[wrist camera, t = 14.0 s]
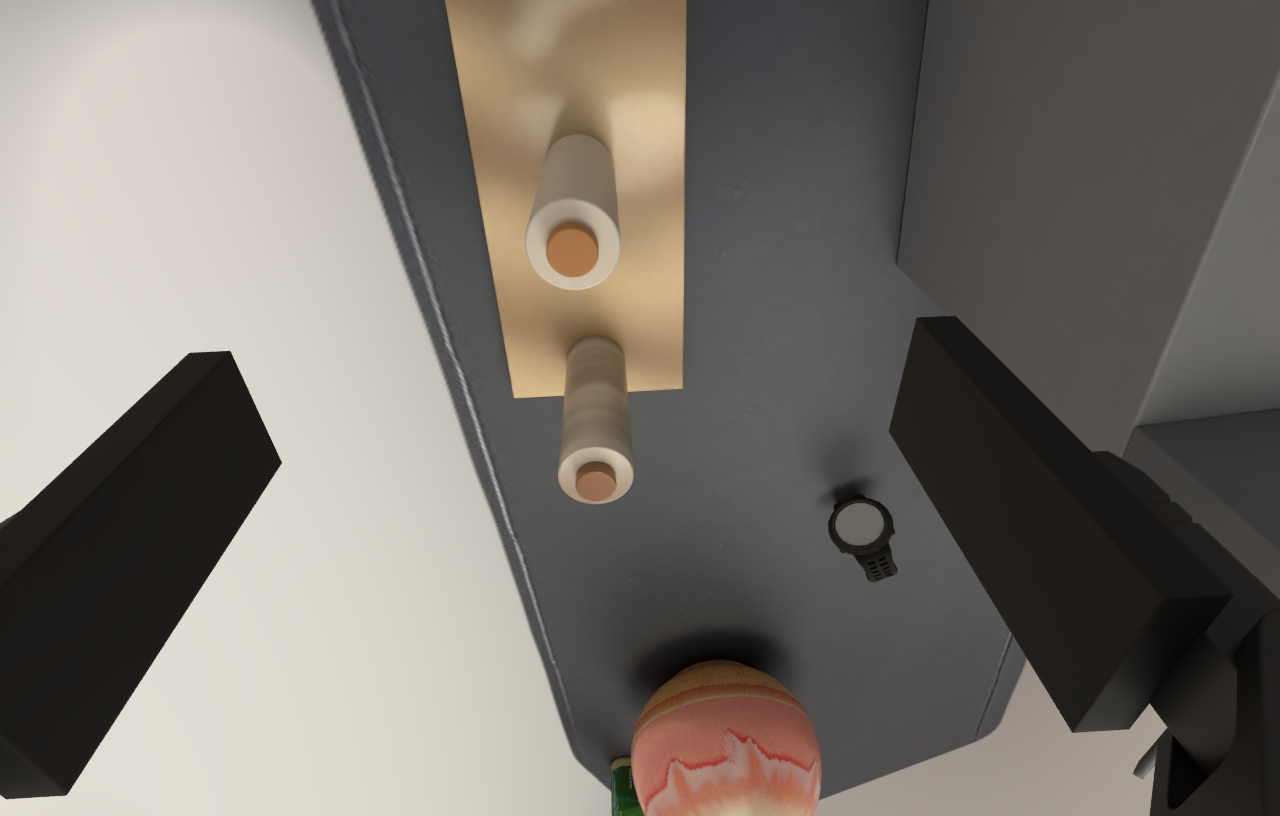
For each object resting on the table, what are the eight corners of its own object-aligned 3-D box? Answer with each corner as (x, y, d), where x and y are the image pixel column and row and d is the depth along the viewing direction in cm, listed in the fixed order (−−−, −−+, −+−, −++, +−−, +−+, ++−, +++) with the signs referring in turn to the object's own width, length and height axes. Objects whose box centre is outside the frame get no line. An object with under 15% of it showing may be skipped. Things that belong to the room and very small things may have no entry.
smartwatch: (884, 477, 39) (917, 536, 35) (875, 535, 42) (905, 596, 38) (818, 485, 39) (844, 545, 35) (813, 542, 42) (836, 604, 38)
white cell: (560, 120, 26) (545, 186, 18) (626, 154, 27) (638, 231, 19) (533, 187, 27) (507, 275, 20) (596, 217, 28) (596, 313, 20)
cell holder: (416, -189, 21) (293, -295, 13) (686, -197, 21) (745, -306, 13) (515, 390, 34) (488, 530, 26) (681, 381, 34) (709, 517, 26)
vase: (802, 712, 54) (877, 982, 40) (647, 739, 55) (664, 1011, 41) (789, 615, 47) (876, 905, 32) (609, 648, 48) (614, 944, 33)
